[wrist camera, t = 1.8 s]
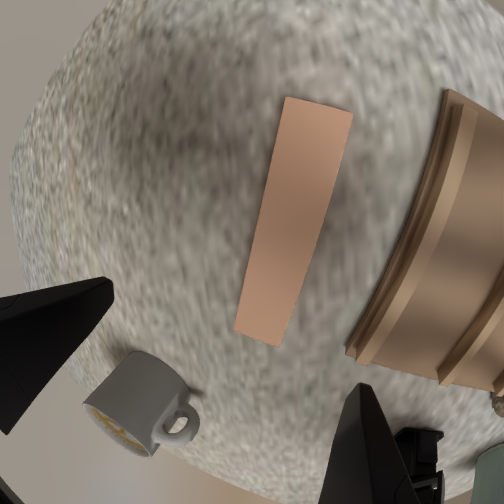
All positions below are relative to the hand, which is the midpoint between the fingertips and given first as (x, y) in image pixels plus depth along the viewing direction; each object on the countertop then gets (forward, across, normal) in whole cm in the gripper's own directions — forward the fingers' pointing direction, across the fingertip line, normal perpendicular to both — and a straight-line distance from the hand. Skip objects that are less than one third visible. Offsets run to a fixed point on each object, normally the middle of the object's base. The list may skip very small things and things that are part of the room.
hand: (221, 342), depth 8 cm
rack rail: (+12, -8, -2) cm, 14 cm away
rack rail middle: (+12, -16, -2) cm, 20 cm away
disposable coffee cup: (+12, -42, +22) cm, 49 cm away
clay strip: (+12, 0, 0) cm, 12 cm away
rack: (+12, -16, -2) cm, 20 cm away
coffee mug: (+12, +9, +25) cm, 29 cm away
